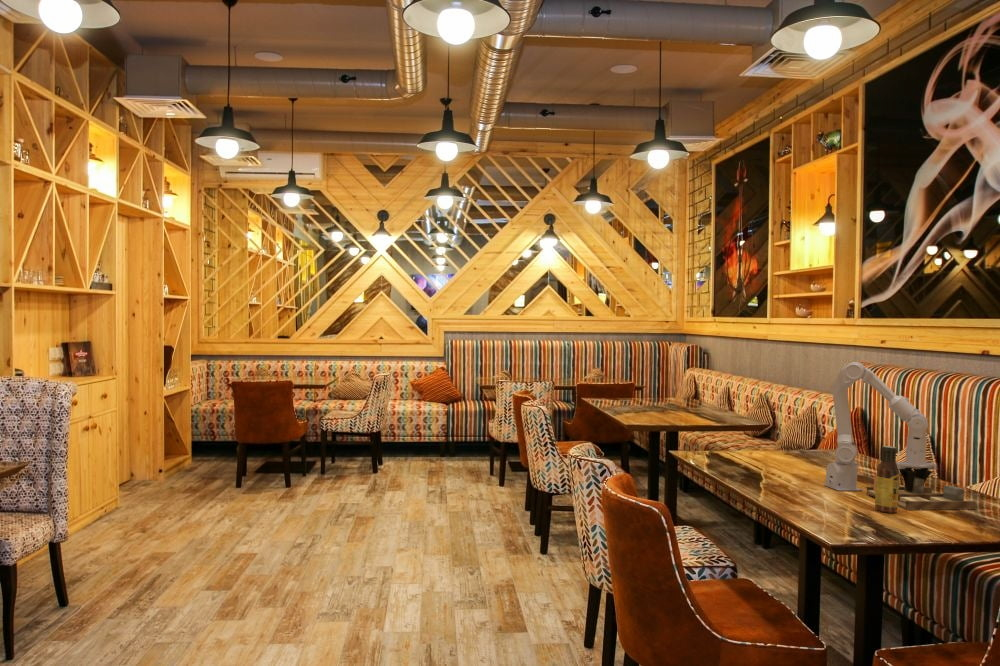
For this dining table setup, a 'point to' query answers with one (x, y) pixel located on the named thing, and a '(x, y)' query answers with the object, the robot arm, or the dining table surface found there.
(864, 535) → the dining table surface
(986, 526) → the dining table surface
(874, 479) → the orange cube
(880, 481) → the sauce bottle
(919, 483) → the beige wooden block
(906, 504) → the lane board
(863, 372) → the robot arm
